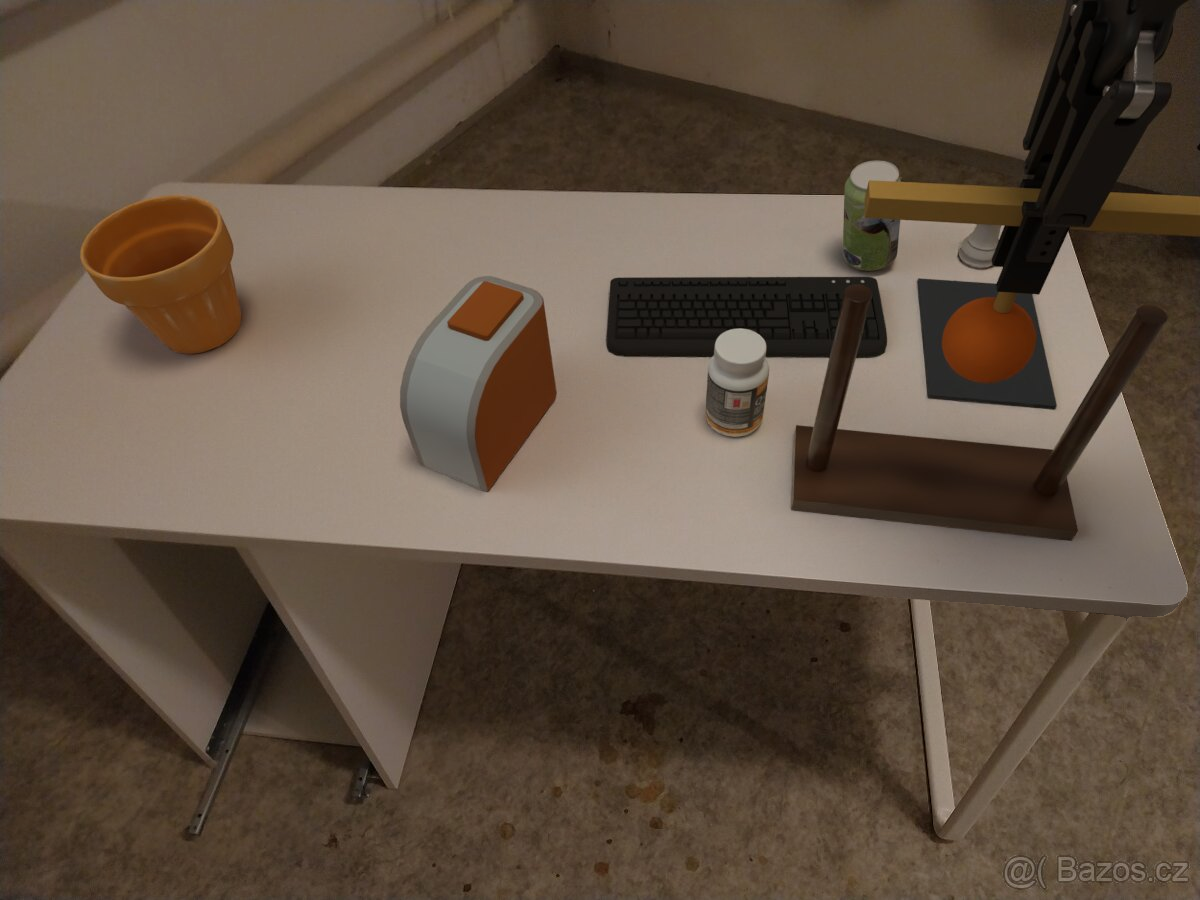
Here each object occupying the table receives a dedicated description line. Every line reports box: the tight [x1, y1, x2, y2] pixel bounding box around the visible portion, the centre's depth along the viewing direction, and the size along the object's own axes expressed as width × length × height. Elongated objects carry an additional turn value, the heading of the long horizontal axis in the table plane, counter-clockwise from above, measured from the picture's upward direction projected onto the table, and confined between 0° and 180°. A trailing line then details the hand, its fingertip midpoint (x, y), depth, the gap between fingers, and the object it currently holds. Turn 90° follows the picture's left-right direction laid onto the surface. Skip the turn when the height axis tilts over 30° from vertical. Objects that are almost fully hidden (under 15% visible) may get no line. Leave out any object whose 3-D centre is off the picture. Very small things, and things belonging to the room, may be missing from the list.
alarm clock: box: [399, 275, 558, 493], centre depth 79 cm, size 15×8×14 cm, turn 152°
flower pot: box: [79, 194, 242, 355], centre depth 91 cm, size 14×14×13 cm
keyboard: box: [606, 276, 888, 358], centre depth 91 cm, size 30×11×2 cm, turn 87°
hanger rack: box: [790, 284, 1169, 542], centre depth 68 cm, size 9×24×22 cm, turn 80°
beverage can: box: [842, 159, 904, 272], centre depth 92 cm, size 6×7×12 cm
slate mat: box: [916, 277, 1058, 410], centre depth 88 cm, size 18×12×1 cm, turn 170°
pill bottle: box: [705, 328, 770, 438], centre depth 79 cm, size 6×6×10 cm
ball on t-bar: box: [864, 180, 1200, 383], centre depth 59 cm, size 6×22×16 cm, turn 80°
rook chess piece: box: [958, 224, 1002, 269], centre depth 93 cm, size 4×4×8 cm
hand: (1015, 276), depth 58 cm, fingers closed on ball on t-bar, 2 cm apart
